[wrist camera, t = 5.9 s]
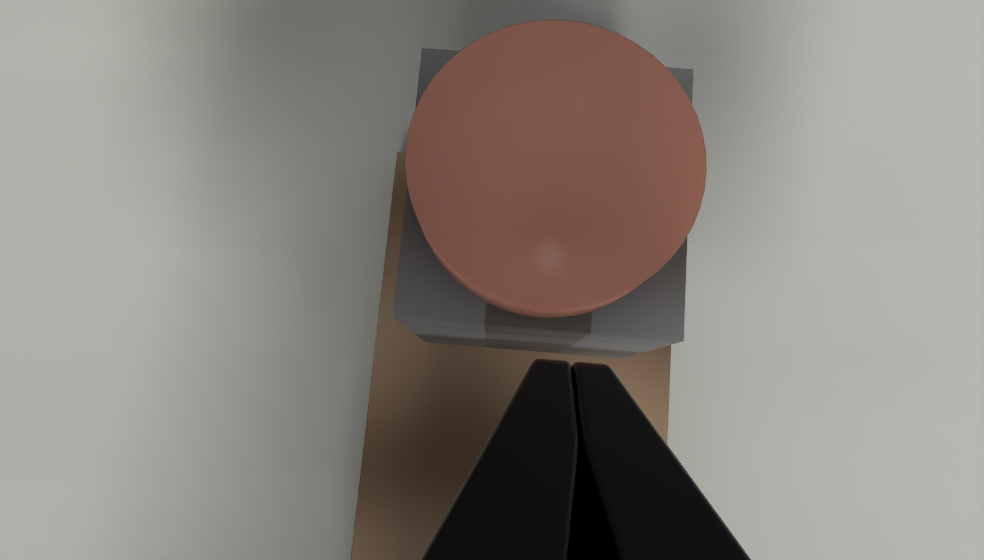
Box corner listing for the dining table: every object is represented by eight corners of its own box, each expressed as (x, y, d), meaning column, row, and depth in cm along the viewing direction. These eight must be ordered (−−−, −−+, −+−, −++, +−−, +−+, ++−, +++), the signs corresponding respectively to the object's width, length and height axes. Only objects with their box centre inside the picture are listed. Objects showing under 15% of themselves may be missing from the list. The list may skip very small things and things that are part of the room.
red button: (636, 343, 17) (702, 319, 12) (421, 325, 17) (389, 294, 12) (646, 138, 18) (710, 31, 13) (442, 122, 18) (421, 8, 13)
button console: (641, 906, 18) (742, 1249, 11) (319, 875, 19) (205, 1193, 11) (670, 182, 22) (761, 75, 15) (400, 160, 22) (355, 42, 15)
